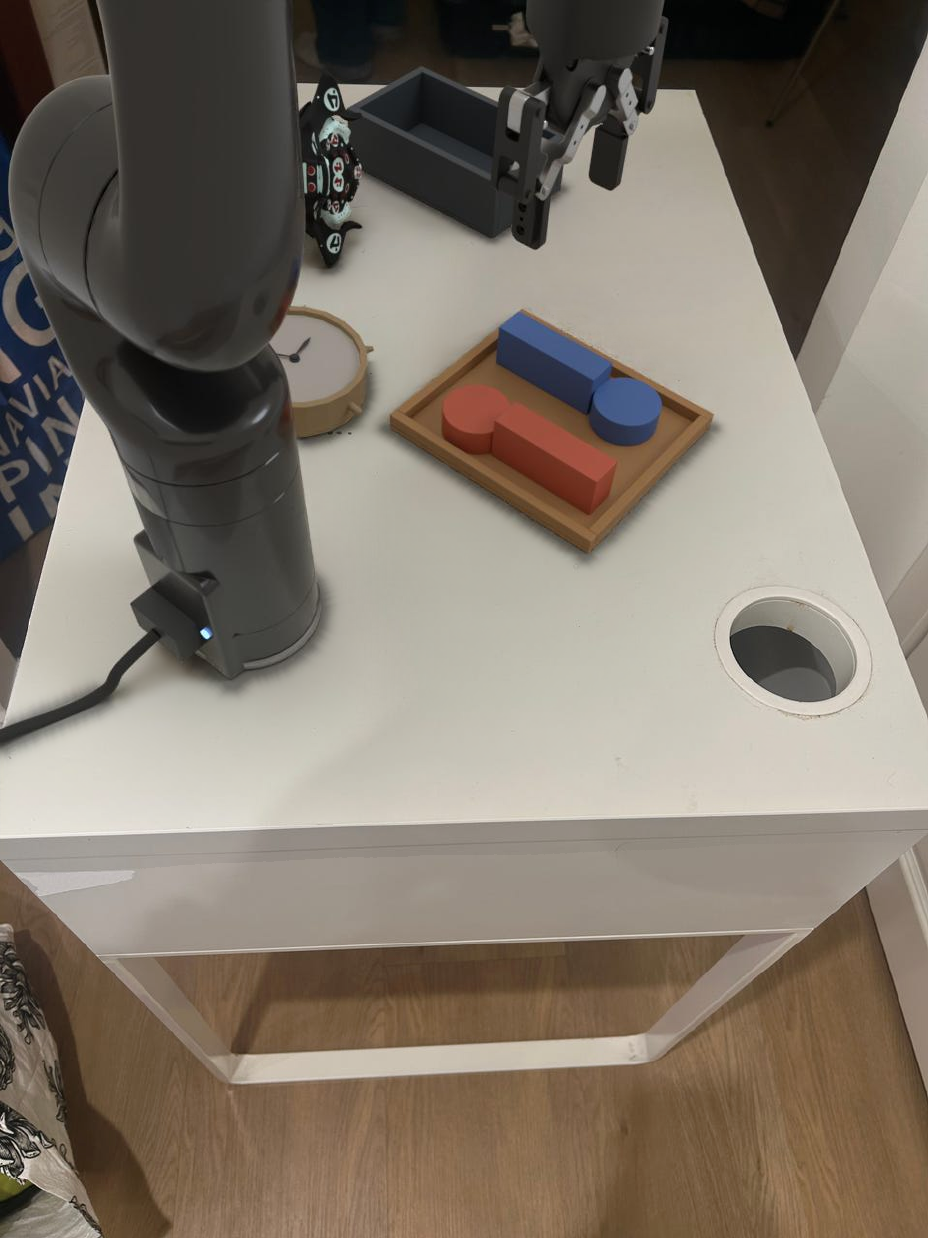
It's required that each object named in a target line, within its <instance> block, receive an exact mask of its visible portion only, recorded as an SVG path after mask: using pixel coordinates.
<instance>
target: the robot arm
mask: <svg viewBox="0 0 928 1238" xmlns="http://www.w3.org/2000/svg"><path fill="white" fill-rule="evenodd" d="M95 2H96V6H97V10H98V14H99V20H100V23H101V28H102V34H103V40H104V46H105V53H106V59H107V64H108V74H95V75H94V74H93V75H87V76H86V75H85V76H82V77H81V76H80V77H77V78H75V79H73V80H70V81H68V82H65V83H63V84H61V85H59V86H58V87H56V88H55V89H53V90H52V91H50V92H49V93H47V95H46V96H44V97H43V98H42V99H41V100H40V102H38V103H37V105H35V107H34V108H33V109H32V111H31V112H30V113H29V114H28V116H27V117H26V119H25V121H24V123H23V125H22V127H21V128H20V131H19V133H18V136H17V138H16V141H15V143H14V147H13V149H12V155H11V159H10V162H9V171H8V201H9V202H8V204H9V212H10V219H11V223H12V227H13V230H14V231H13V232H14V235H15V239H16V242H17V244H18V245H17V246H18V249H19V251H20V254H21V257H22V259H23V263H24V265H25V267H26V270H27V274H28V275H29V278H30V280H31V283H32V286H33V288H34V290H35V293H36V294H37V297H38V300H39V302H40V304H41V307H42V309H43V311H44V314H45V316H46V318H47V320H48V324H49V325H50V327H51V330H52V332H53V335H54V336H55V340H56V341H57V344H58V346H59V348H60V350H61V353H62V355H63V358H64V360H65V362H66V364H67V366H68V368H69V371H70V373H71V375H72V378H73V379H74V381H75V383H76V385H77V386H78V388H79V390H80V392H81V393H82V395H83V396H84V398H85V399H86V401H87V402H88V403H89V405H90V406H91V408H92V409H93V410H94V412H95V413H96V414H97V415H98V417H99V419H100V420H101V421H102V422H103V424H104V425H105V427H106V429H107V431H108V434H109V436H110V439H111V442H112V444H113V447H114V449H115V451H116V454H117V456H118V459H119V462H120V465H121V468H122V470H123V473H124V476H125V479H126V481H127V485H128V488H129V490H130V493H131V496H132V499H133V501H134V504H135V507H136V510H137V513H138V516H139V518H140V521H141V524H142V526H143V529H142V530H140V531H139V532H138V533H137V534H135V535H134V536H133V540H132V541H133V544H134V546H135V549H136V552H137V555H138V557H139V560H140V562H141V565H142V567H143V571H144V573H145V575H146V578H147V580H148V583H149V585H150V586H149V588H147V589H146V590H145V591H144V592H142V593H141V594H139V595H138V596H137V597H136V598H135V599H133V600H132V601H131V602H130V603H129V605H130V607H131V610H132V613H133V615H134V617H135V620H136V622H137V624H138V627H140V628H141V629H142V630H143V631H145V632H146V633H145V635H143V636H142V638H140V639H139V640H138V641H137V642H136V643H134V645H133V646H131V648H129V649H128V650H127V651H126V652H125V653H124V654H123V655H122V656H121V657H120V658H119V660H118V661H117V662H116V663H115V664H114V665H113V666H112V668H111V669H110V671H109V673H108V674H107V677H106V680H105V681H104V682H103V683H102V684H101V685H99V686H98V687H97V688H96V689H94V690H93V691H91V692H89V693H88V694H86V695H85V696H82V697H81V698H79V699H77V700H74V701H73V702H71V703H70V702H69V703H68V704H66V705H63V706H61V707H58V708H55V709H53V710H50V711H46V712H44V713H41V714H38V715H35V716H32V717H29V718H26V719H23V720H20V721H18V722H15V723H12V724H10V725H9V724H8V725H7V726H5V727H2V728H0V744H2V743H5V742H8V741H9V740H11V739H14V738H17V737H20V736H22V735H25V734H27V733H30V732H33V731H36V730H39V729H42V728H45V727H47V726H50V725H52V724H54V723H57V722H60V721H62V720H65V719H67V718H71V717H72V716H74V715H77V714H79V713H82V712H85V711H86V710H88V709H91V708H93V707H94V706H96V705H97V704H100V703H101V702H102V701H104V700H105V699H107V698H108V697H110V696H111V695H112V694H113V693H114V692H115V691H116V690H117V688H118V686H119V685H120V682H121V680H122V677H123V676H124V675H125V673H126V672H127V671H128V670H129V669H130V668H131V667H132V666H133V665H134V664H135V663H136V662H137V661H138V660H139V659H140V658H141V657H142V656H143V655H144V654H145V653H146V652H147V651H149V650H150V649H151V648H152V647H153V646H154V645H155V644H156V643H157V642H158V643H159V644H160V645H162V646H163V647H164V648H165V649H166V650H168V652H170V653H171V654H172V655H174V656H175V657H176V658H177V659H179V660H180V661H181V662H182V663H185V662H186V661H187V660H188V659H190V657H191V656H193V655H194V654H195V655H196V656H198V657H199V658H201V659H202V660H203V661H206V663H208V664H210V665H211V666H212V667H213V668H214V669H216V670H217V671H218V672H219V673H220V674H222V676H224V677H225V678H227V679H229V680H233V679H235V678H236V677H238V675H239V674H240V673H242V672H243V671H245V670H252V669H259V668H264V667H268V666H271V665H274V664H276V663H279V662H281V661H283V660H285V659H287V658H289V657H290V656H292V655H294V654H295V653H296V652H298V651H299V650H300V649H301V648H303V646H305V644H307V642H308V641H309V639H311V637H312V635H313V634H314V632H315V630H316V629H317V626H318V624H319V622H320V618H321V613H322V596H321V595H322V594H321V591H320V590H321V589H320V586H319V583H318V580H317V573H316V565H315V564H316V563H315V559H314V558H315V557H314V552H313V545H312V537H311V529H310V523H309V517H308V510H307V509H308V508H307V504H306V503H307V501H306V496H305V495H306V494H305V488H304V482H303V481H304V479H303V473H302V465H301V460H300V452H299V451H300V450H299V444H298V437H297V436H296V429H295V422H294V415H293V408H292V401H291V394H290V388H289V382H288V378H287V375H286V372H285V369H284V367H283V364H282V362H281V360H280V358H279V356H278V355H277V353H276V352H275V350H274V349H273V348H272V346H271V345H270V343H269V342H270V341H271V340H272V338H273V337H274V335H275V334H276V333H277V331H278V330H279V328H280V327H281V325H282V323H283V321H284V319H285V317H286V315H287V313H288V311H289V309H290V307H291V306H292V303H293V300H294V297H295V295H296V292H297V289H298V285H299V281H300V277H301V270H302V266H303V260H304V253H305V243H306V241H305V240H306V232H305V192H304V176H303V161H302V146H301V132H300V118H299V110H300V106H299V105H300V104H299V92H298V78H297V61H296V47H295V46H296V45H295V32H294V31H295V30H294V13H293V0H95ZM664 5H665V0H526V7H525V8H526V10H525V23H526V26H527V29H528V31H529V33H530V34H531V36H532V38H533V39H534V41H535V43H536V45H537V47H538V51H539V59H538V62H537V67H536V70H535V72H534V76H533V79H532V84H530V85H528V86H526V87H525V88H523V89H517V88H515V87H513V86H511V85H509V84H507V85H505V86H503V88H502V89H501V91H500V93H499V95H498V101H497V102H498V109H497V120H496V130H495V140H494V151H493V161H492V172H491V182H490V185H491V188H493V189H495V190H497V191H499V192H502V193H504V194H506V195H508V196H510V197H512V198H514V203H513V217H512V225H511V235H512V237H513V239H514V240H515V241H516V242H518V243H520V244H521V245H524V246H526V247H527V248H530V249H532V250H534V251H538V250H539V249H540V248H542V247H543V246H544V245H545V244H546V242H547V235H548V227H549V219H550V218H549V217H550V209H551V201H552V196H551V195H550V194H549V193H550V191H551V189H552V187H553V184H554V182H555V180H556V178H557V175H558V173H559V171H560V169H561V167H562V166H563V165H564V166H565V165H568V164H570V163H572V161H573V160H574V158H575V156H576V154H577V151H578V149H579V146H580V145H581V142H582V140H583V137H584V136H585V135H586V134H587V133H588V132H589V131H590V130H591V129H592V127H594V126H596V127H595V128H594V134H593V141H592V147H591V154H590V162H589V168H588V179H589V181H590V182H591V183H593V184H594V185H596V186H599V187H601V188H602V189H605V190H607V191H609V192H612V191H614V190H615V189H617V187H619V186H620V185H621V183H622V178H623V172H624V166H625V161H626V155H627V150H628V144H629V139H630V136H632V135H633V134H634V133H635V131H636V130H637V127H638V125H639V116H640V115H641V113H642V114H644V115H649V114H650V113H651V111H652V110H653V109H654V106H655V103H656V99H657V94H658V86H659V80H660V75H661V69H662V63H663V57H664V50H665V44H666V40H667V39H666V38H667V33H668V27H669V18H667V16H666V17H665V16H663V10H664ZM634 74H635V75H637V76H639V77H641V79H642V85H641V88H640V87H637V86H635V85H633V83H632V82H633V79H634V77H633V75H634ZM547 126H548V127H549V128H550V129H552V130H553V131H555V132H557V133H560V134H562V135H564V138H563V140H562V141H561V142H559V143H554V142H552V141H550V140H548V139H545V138H543V137H542V134H543V130H544V129H546V127H547ZM540 152H542V153H544V154H546V155H547V161H546V163H545V165H544V167H543V170H542V172H541V174H540V175H538V174H537V170H538V163H539V156H540ZM511 160H513V161H515V162H514V164H513V167H512V169H511V170H510V162H511Z"/></svg>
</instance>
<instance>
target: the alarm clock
mask: <svg viewBox="0 0 928 1238" xmlns="http://www.w3.org/2000/svg"><path fill="white" fill-rule="evenodd" d="M269 343H270V345H271V346H272V348H273V349H274V350H275V352H276V353H277V355H278V356H279V358H280V360H281V362H282V364H283V367H284V369H285V372H286V375H287V378H288V382H289V388H290V394H291V401H292V408H293V415H294V422H295V429H296V436H297V438H299V437H300V438H307V437H312V436H317V435H321V434H326V433H329V432H331V431H333V430H335V429H337V428H340V427H341V426H343V425H345V424H347V423H348V422H350V420H351V419H352V418H353V417H354V416H355V415H358V416H362V415H363V414H364V410H363V409H362V406H363V403H364V401H365V399H366V396H367V372H368V365H369V363H368V354H370V353H372V352H374V351H375V349H374V348H375V347H374V346H373V345H365V343H364V341H363V339H362V337H361V335H360V333H358V332H357V330H355V329H354V328H353V327H352V326H351V325H349V324H348V323H347V322H346V321H345V320H344V319H341V318H340V317H338V316H335V315H333V314H332V313H330V312H327V311H324V310H320V309H316V308H312V307H308V306H301V305H299V306H298V305H296V306H295V305H291V307H290V309H289V311H288V313H287V315H286V317H285V319H284V321H283V323H282V325H281V327H280V328H279V330H278V331H277V333H276V334H275V335H274V337H273V338H272V340H271V341H270V342H269Z"/></svg>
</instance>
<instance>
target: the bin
mask: <svg viewBox="0 0 928 1238" xmlns="http://www.w3.org/2000/svg"><path fill="white" fill-rule="evenodd" d="M497 109H498V101H497V100H495V99H492V98H491V97H488V96H486V95H484V94H482V93H480V92H478V91H475V90H474V89H472V88H469V87H467V86H465V85H463V84H460V83H458V82H456V81H455V80H453V79H450V78H448V77H447V76H443V75H441V74H440V73H437V72H435V71H433V70H431V69H429V68H426V67H424V66H422V65H420V66H419V67H417V68H416V69H413V70H412V71H410V72H408V73H407V74H405V75H402V76H401V77H399V78H398V79H396V80H394V81H393V82H391V83H389V84H387V85H385V86H384V87H382V88H380V89H378V90H377V91H375V92H373V93H371V94H370V95H368V96H366V97H364V98H362V99H361V100H358V101H357V102H355V103H353V104H352V105H350V106H348V107H346V110H347V111H349V112H351V113H358V112H359V113H361V114H362V117H361V118H359V119H357V120H355V121H346V122H347V127H348V128H349V129H350V131H351V133H350V135H349V140H348V142H349V143H350V144H352V146H353V148H354V150H355V152H356V155H357V157H358V159H359V164H361V171H363V172H365V173H367V174H369V175H371V176H373V177H375V178H376V179H378V180H380V181H382V182H384V183H385V184H388V185H390V186H392V187H394V189H395V188H396V189H397V190H399V191H401V192H403V193H405V194H407V195H409V196H411V197H412V198H414V199H416V200H418V201H420V202H422V203H424V204H426V205H428V206H429V207H432V208H434V209H435V210H437V211H439V212H440V213H443V214H444V215H446V216H449V217H450V218H452V219H454V220H456V221H458V222H460V223H461V224H464V225H465V226H467V227H469V228H471V229H473V230H475V231H477V232H478V233H481V234H483V235H485V236H486V237H488V238H490V239H494V238H495V237H497V236H498V235H500V234H501V233H502V232H503V231H505V230H506V229H508V228H509V227H511V226H512V217H513V203H514V198H512V197H510V196H508V195H506V194H504V193H502V192H499V191H497V190H495V189H493V188H491V185H490V182H491V172H492V161H493V151H494V140H495V130H496V120H497ZM542 137H543V138H545V139H548V140H550V141H552V142H554V143H559V142H561V141H562V140H563V138H564V135H562V134H560V133H557V132H555V131H553V130H552V129H550V128H549V127H548V126H547V127H546V129H544V130H543V134H542ZM546 161H547V155H546V154H544V153H542V152H540V156H539V163H538V170H537V174H538V175H540V174H541V172H542V170H543V167H544V165H545V163H546ZM514 162H515V161H513V160H511V162H510V170H511V169H512V167H513V164H514ZM564 166H565V165H563V166H562V167H561V169H560V171H559V173H558V175H557V178H556V180H555V182H554V184H553V187H552V189H551V191H550V193H549V194H550V195H551V197H553V195H554V194H556V193H557V192H558V191H560V190H561V188H562V182H563V175H564V174H563V173H564Z"/></svg>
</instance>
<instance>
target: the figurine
mask: <svg viewBox="0 0 928 1238" xmlns="http://www.w3.org/2000/svg"><path fill="white" fill-rule="evenodd" d="M334 116H338V117H340V118H341V119H342V120H344V121H346V122H347V121H355V120H357V119H359V118H361V117H362V114H361V113H359V112H358V113H351V112H349V111H347V108H346V106H345V103H344V99H343V96H342V93H341V89H340V86H339V84H338V82H337V80H336V78H335V77H334V75H333V74H332V73H331V72H330V71H329V70H324V71H323V72H322V73H321V74H320V76H319V80H318V83H317V85H316V89H315V93H314V96H313V99H312V101H311V100H308V102H306V103H305V104H304V105H303V106H302V107H301V108H299V118H300V132H301V146H302V161H303V176H304V192H305V234H306V235H308V236H309V237H310V238H312V239H314V240H315V242H316V245H317V248H318V251H319V253H320V256H321V257H322V260H323V263H324V265H325V266H326V267H327V268H328V269H331V268H333V267H334V266H335V265H336V264H337V262H338V261H339V258H340V256H341V254H342V250H343V247H344V243H345V240H346V235H347V233H349V231H351V230H362V229H363V225H362V224H361V223H359V222H357V221H354V220H347V219H348V218H349V217H350V215H351V214H352V209H351V207H350V203H351V202H353V200H354V199H355V196H356V194H357V191H358V188H359V187H360V182H359V181H361V180H362V175H363V174H362V170H361V164H359V159H358V157H357V155H356V152H355V150H354V148H353V146H352V144H350V143H349V135H350V133H351V131H350V129H349V128H348V125H345V124H344V123H343V122H341V121H339V120H336V119H334ZM339 224H341V226H340V227H339V229H336V228H333V226H334V225H339Z"/></svg>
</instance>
